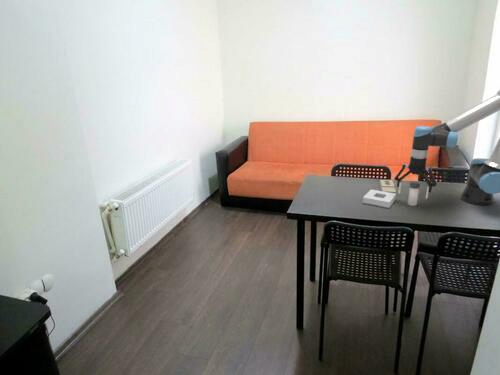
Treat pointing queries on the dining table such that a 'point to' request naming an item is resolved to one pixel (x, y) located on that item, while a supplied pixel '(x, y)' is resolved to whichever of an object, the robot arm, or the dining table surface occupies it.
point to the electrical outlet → (387, 186)
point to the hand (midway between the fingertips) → (412, 195)
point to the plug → (413, 193)
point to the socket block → (379, 198)
